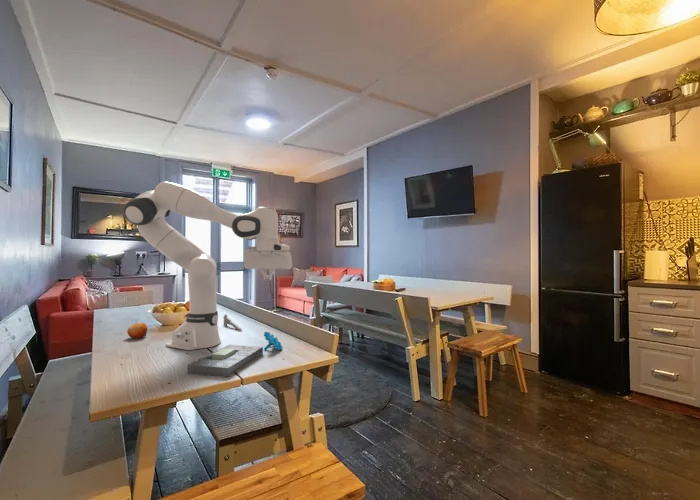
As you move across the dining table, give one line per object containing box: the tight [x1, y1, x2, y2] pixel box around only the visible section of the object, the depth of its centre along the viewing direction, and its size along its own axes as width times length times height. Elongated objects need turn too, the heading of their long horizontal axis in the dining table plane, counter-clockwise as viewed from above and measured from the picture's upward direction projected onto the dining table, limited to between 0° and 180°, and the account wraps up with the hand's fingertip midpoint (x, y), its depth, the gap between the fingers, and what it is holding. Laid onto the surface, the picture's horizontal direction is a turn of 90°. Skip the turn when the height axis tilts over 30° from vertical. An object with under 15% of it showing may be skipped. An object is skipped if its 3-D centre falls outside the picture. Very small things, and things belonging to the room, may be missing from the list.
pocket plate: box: [187, 344, 264, 378], centre depth 123 cm, size 15×24×3 cm, turn 167°
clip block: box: [212, 348, 236, 361], centre depth 124 cm, size 4×7×5 cm
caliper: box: [223, 314, 243, 332], centre depth 178 cm, size 20×1×6 cm, turn 44°
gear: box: [263, 331, 283, 351], centre depth 140 cm, size 11×6×10 cm
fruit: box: [126, 322, 148, 340], centre depth 160 cm, size 8×8×8 cm
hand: (267, 280), depth 139 cm, fingers closed
